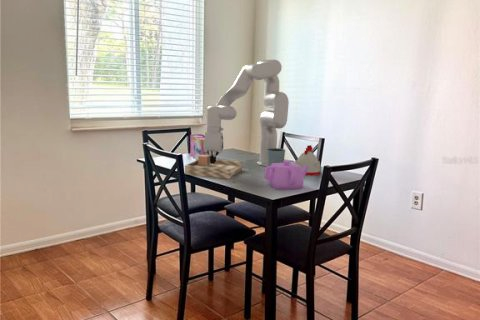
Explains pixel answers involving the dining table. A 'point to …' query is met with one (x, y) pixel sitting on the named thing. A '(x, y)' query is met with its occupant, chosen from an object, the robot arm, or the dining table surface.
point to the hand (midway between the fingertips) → (212, 163)
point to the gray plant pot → (275, 155)
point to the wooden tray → (214, 169)
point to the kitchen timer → (309, 161)
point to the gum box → (197, 146)
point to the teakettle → (285, 175)
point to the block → (204, 160)
